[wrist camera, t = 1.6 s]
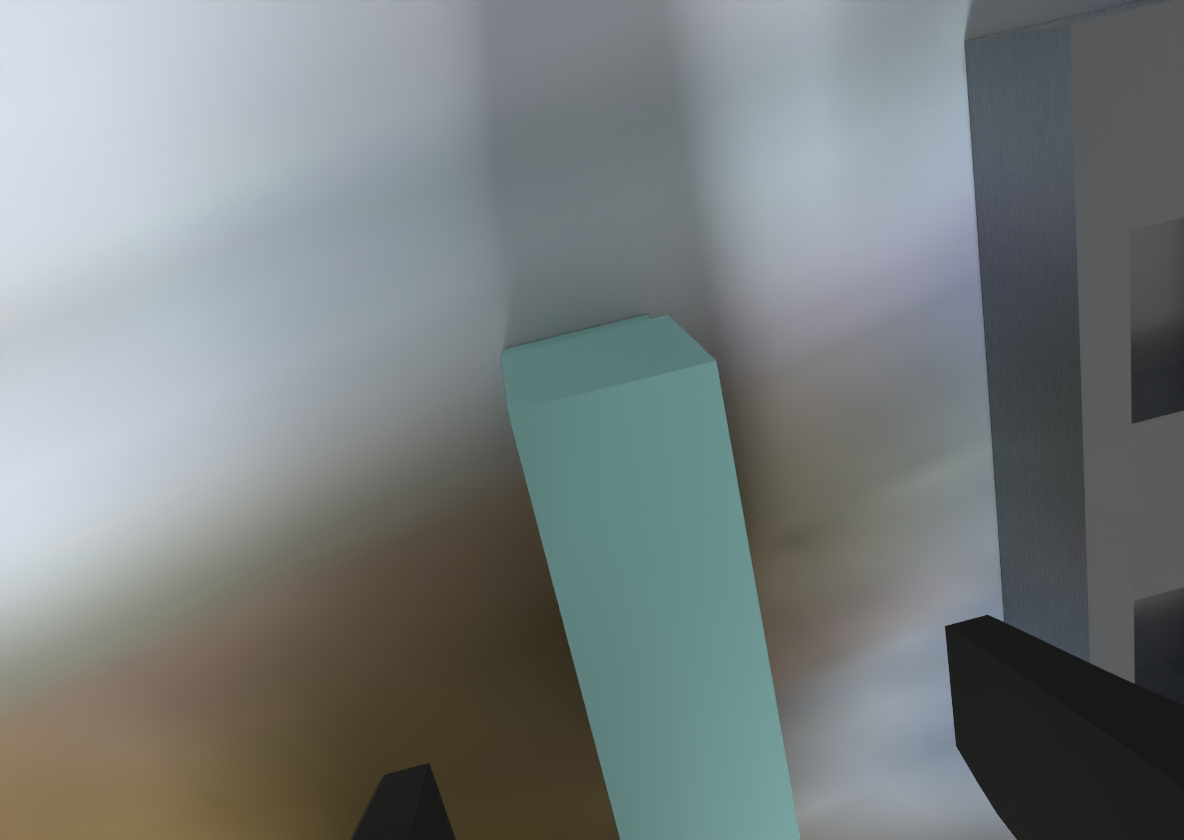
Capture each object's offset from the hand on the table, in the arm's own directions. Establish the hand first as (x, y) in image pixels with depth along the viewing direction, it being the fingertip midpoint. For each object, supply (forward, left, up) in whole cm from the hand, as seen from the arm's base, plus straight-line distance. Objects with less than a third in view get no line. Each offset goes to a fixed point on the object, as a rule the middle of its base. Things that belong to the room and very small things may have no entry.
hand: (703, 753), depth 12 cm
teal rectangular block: (0, 0, -7) cm, 7 cm away
